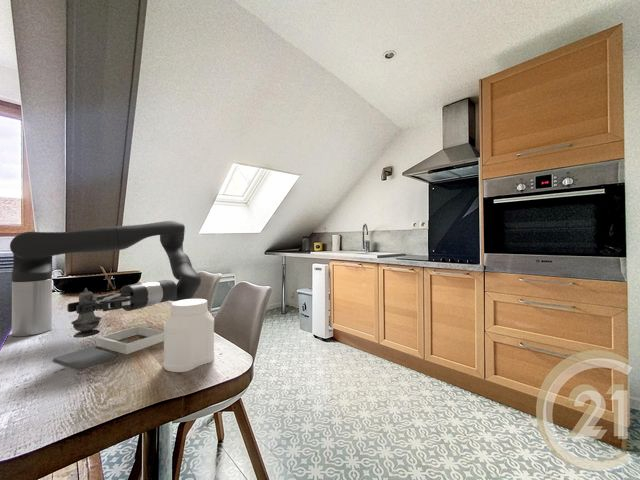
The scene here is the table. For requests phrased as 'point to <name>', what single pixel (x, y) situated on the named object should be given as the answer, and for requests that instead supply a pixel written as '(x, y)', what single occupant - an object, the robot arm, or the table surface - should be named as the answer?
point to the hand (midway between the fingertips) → (73, 308)
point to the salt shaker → (86, 318)
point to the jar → (188, 336)
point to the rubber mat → (84, 357)
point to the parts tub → (113, 344)
